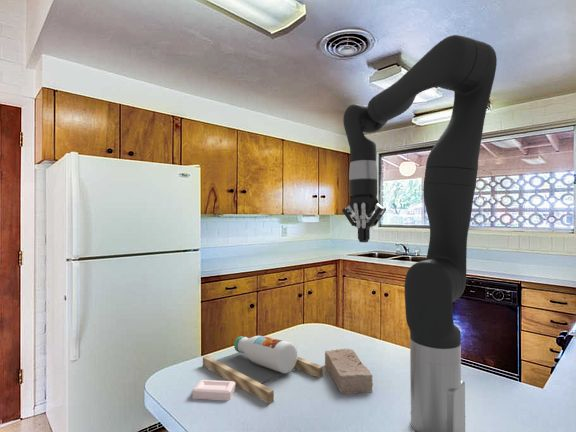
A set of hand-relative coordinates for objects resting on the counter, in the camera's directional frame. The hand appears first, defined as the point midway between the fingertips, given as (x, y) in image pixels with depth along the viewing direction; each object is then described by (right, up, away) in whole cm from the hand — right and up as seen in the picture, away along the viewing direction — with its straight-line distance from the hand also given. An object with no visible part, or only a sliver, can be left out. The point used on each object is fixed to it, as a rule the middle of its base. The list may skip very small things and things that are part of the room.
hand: (363, 242), depth 94 cm
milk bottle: (-20, -31, -3) cm, 37 cm away
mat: (-31, -35, +3) cm, 47 cm away
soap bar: (-38, -36, -12) cm, 54 cm away
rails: (-28, -35, 0) cm, 45 cm away
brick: (-5, -36, -4) cm, 36 cm away
